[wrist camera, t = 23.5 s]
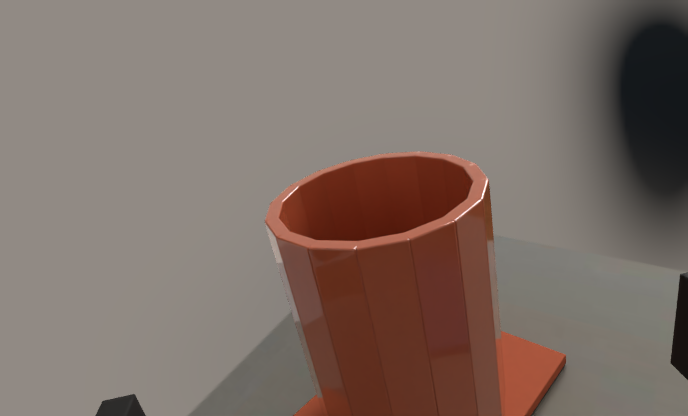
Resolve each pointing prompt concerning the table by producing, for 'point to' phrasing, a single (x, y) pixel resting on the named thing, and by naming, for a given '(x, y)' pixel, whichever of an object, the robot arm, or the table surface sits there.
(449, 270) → the cup
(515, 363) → the terracotta mat
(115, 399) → the robot arm
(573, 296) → the table surface
